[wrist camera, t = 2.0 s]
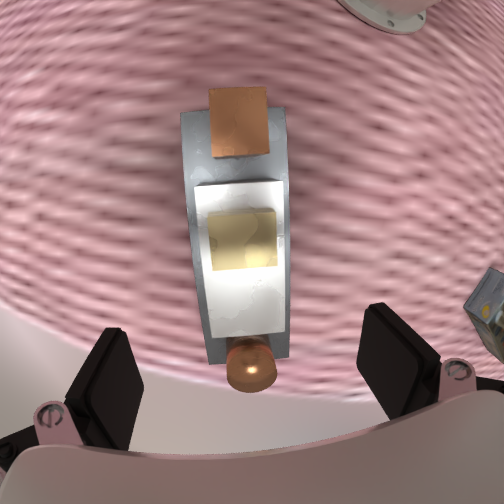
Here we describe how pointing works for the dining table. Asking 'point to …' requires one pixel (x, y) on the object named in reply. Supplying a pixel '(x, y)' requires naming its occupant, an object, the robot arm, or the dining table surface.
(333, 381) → the dining table surface
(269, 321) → the white box
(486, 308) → the beverage carton
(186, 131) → the plane body
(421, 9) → the robot arm
